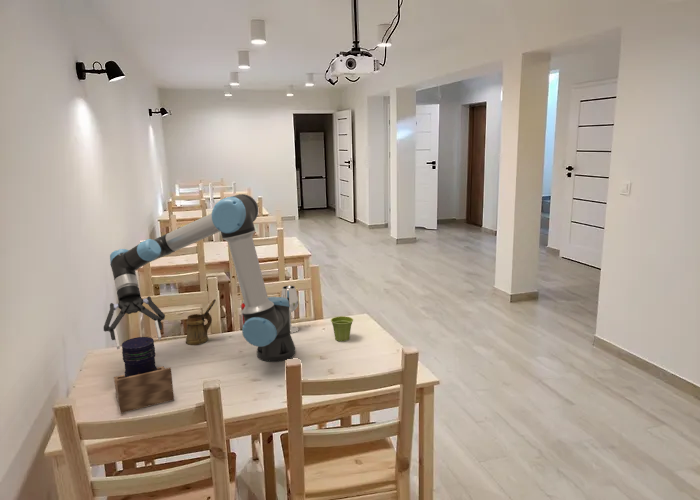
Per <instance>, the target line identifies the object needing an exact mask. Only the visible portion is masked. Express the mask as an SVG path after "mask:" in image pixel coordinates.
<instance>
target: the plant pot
mask: <svg viewBox="0 0 700 500" xmlns="http://www.w3.org/2000/svg"><path fill="white" fill-rule="evenodd" d="M330 322H331V324H332V328H333V333H334V339H335V340H336V341H338V342H346V341H349V340H350V338H351V337H350V336H351V330H352V324H353V322H354V318H352V317H350V316H345V315H344V316H343V315H341V316H334V317H332V318H331V319H330Z"/></svg>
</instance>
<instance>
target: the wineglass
mask: <svg viewBox="0 0 700 500" xmlns="http://www.w3.org/2000/svg"><path fill="white" fill-rule="evenodd" d="M280 297H283V298H286V299H288V301H289V306H290V307H289V313H290V334H294V333H293V332H295V333H297V332H299V331H298V328H299V327H297V326H292V313H293V312H295V310H297V308H298V305H299V297H298V292H297V289H296V286H295V285H285V286H282V288H281V295H280ZM296 327H297V328H296ZM296 331H297V332H296Z"/></svg>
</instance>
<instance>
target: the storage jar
mask: <svg viewBox="0 0 700 500" xmlns="http://www.w3.org/2000/svg"><path fill="white" fill-rule="evenodd" d="M121 351H122V352H121V353H122V354H121V355H122V361H123V362H124V369H125V370H124V374H123V375H125V377H129V376H134V375H138V374H143V373H147V372H152V371H156V370H157V367H158V366H156V348H155V341H154V338H153V337H150V336H139V337H138V336H137V337H133V338H130V339H127V340H125V341H123V342H122V343H121Z"/></svg>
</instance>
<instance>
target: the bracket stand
mask: <svg viewBox="0 0 700 500" xmlns="http://www.w3.org/2000/svg"><path fill="white" fill-rule="evenodd" d="M156 367H157V370H156V371H152V372H147V373H143V374H138V375H134V376H129V377H125V375H124V374H122V375H116V376H114V377H113V382H114V389H115V395H116V401H117V403H118V408H119V411H120V414H123V413H126V412H131V411H135V410H138V409H143V408H146V407H151V406H154V405H159V404H162V403H163V404H164V403H166V402H170V401H174V400H175V396H174V386H173V376H172V375H173V374H172V367H166V368H165V367H164V366H159V367H158V366H156Z"/></svg>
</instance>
